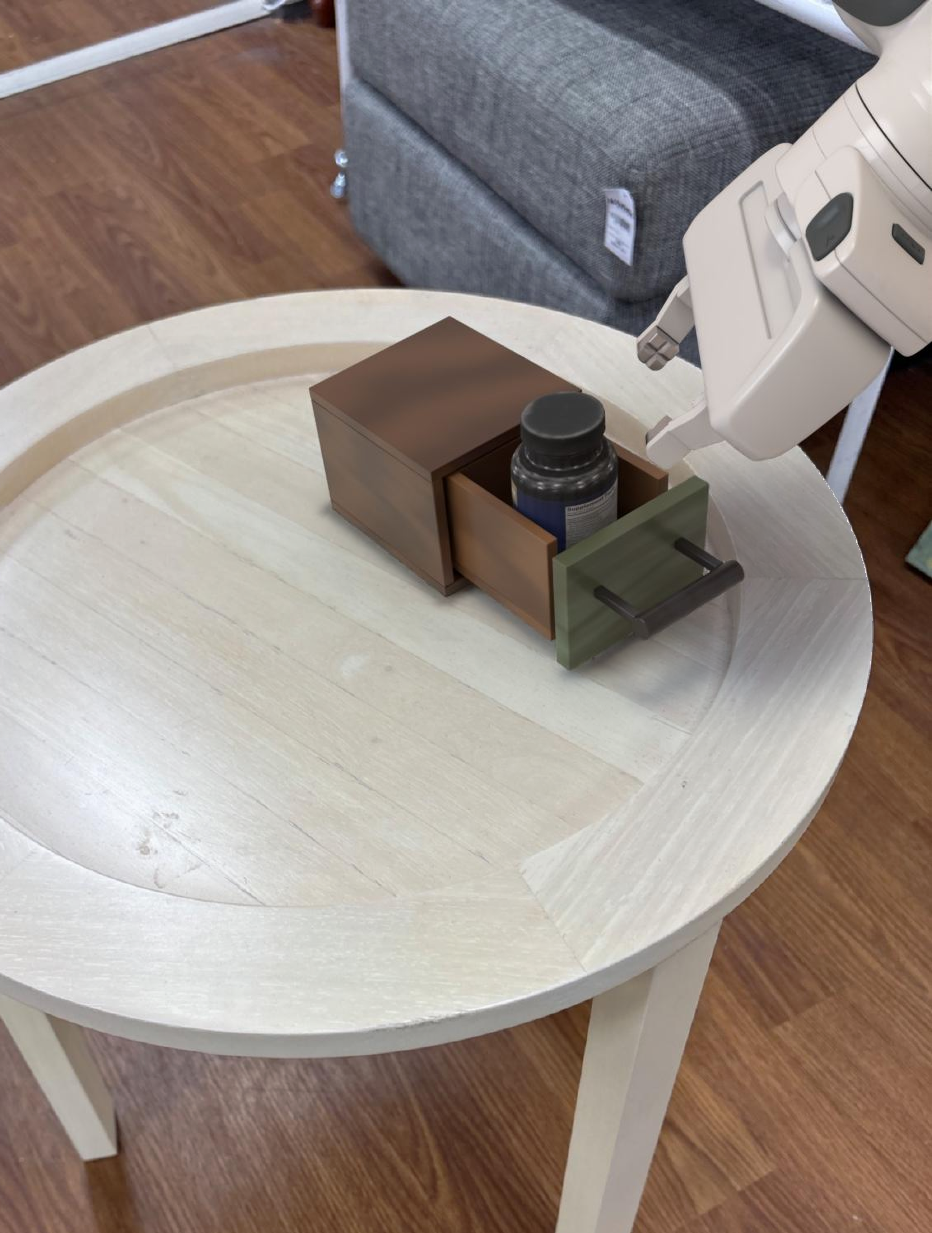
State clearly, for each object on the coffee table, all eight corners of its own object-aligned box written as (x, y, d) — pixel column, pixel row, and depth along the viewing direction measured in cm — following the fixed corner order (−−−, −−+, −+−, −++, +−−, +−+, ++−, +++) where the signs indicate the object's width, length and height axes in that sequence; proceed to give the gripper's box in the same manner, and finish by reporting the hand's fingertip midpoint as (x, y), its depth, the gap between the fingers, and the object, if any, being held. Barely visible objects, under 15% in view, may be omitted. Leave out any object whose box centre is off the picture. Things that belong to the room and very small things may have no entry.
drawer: (760, 627, 76) (772, 519, 70) (624, 714, 74) (625, 608, 68) (567, 503, 87) (564, 400, 81) (442, 575, 84) (430, 473, 78)
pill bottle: (499, 561, 82) (487, 408, 74) (583, 525, 83) (580, 370, 75) (549, 614, 78) (541, 458, 70) (636, 576, 79) (640, 418, 71)
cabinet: (585, 517, 87) (582, 389, 80) (446, 597, 84) (430, 472, 77) (461, 437, 95) (449, 315, 88) (331, 508, 93) (308, 387, 85)
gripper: (792, 74, 67) (600, 276, 77) (854, 268, 54) (614, 483, 63) (871, 151, 70) (676, 338, 79) (949, 355, 57) (704, 550, 66)
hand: (648, 405), depth 71 cm, fingers open, 8 cm apart
